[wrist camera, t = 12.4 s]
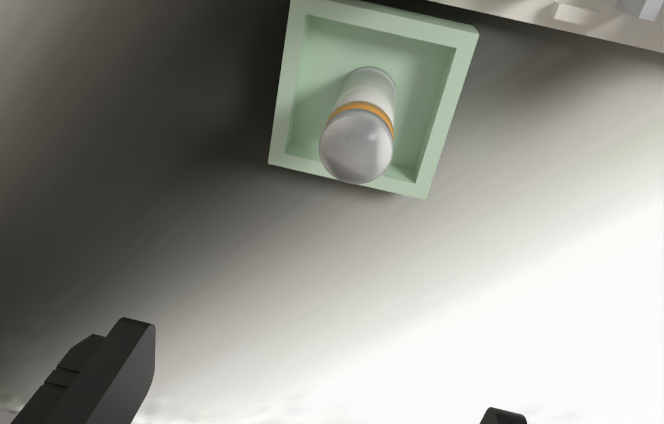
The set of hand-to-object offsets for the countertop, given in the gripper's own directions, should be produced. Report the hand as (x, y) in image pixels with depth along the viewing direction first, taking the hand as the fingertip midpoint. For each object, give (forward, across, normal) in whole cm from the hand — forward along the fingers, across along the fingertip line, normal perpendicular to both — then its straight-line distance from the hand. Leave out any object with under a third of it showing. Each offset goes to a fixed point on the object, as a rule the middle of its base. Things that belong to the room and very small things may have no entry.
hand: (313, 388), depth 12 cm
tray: (+26, 0, 0) cm, 26 cm away
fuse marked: (+25, 0, 0) cm, 25 cm away
